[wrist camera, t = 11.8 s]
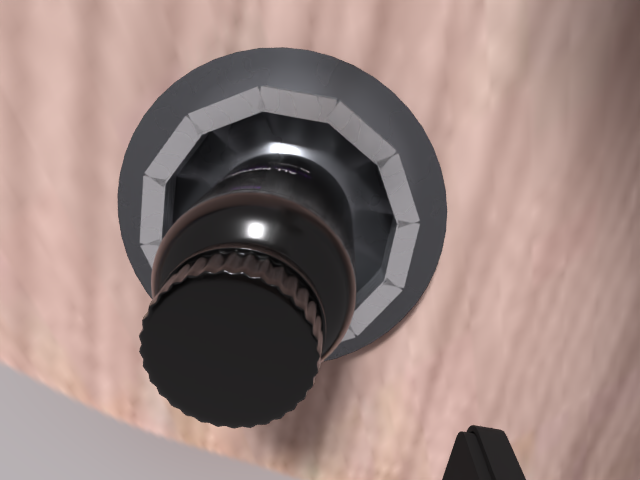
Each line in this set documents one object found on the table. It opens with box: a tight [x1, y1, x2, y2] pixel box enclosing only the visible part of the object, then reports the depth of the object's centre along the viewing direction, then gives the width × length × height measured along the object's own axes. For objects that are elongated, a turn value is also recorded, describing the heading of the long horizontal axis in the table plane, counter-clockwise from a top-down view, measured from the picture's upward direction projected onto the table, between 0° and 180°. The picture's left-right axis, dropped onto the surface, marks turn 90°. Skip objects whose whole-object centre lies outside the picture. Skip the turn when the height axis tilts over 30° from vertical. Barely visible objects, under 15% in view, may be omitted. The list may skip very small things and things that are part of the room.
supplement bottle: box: [139, 153, 357, 428], centre depth 18 cm, size 7×7×12 cm
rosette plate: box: [118, 48, 447, 362], centre depth 24 cm, size 16×16×3 cm
